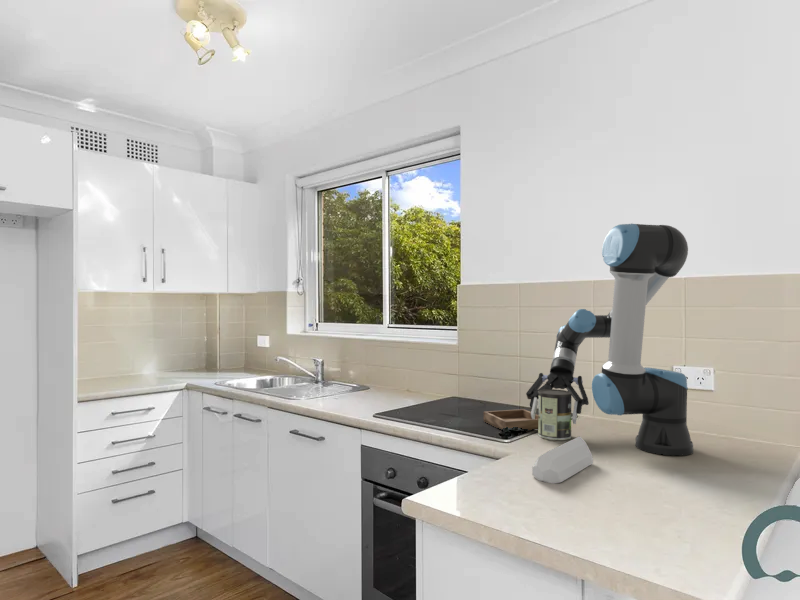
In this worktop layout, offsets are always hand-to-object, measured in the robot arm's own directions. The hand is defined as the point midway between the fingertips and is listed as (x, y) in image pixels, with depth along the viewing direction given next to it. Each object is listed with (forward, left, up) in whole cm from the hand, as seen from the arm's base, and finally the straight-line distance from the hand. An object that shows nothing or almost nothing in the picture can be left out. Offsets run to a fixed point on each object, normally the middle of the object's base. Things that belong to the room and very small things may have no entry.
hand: (552, 419), depth 169 cm
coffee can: (+2, -2, -6) cm, 7 cm away
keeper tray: (+18, +3, -6) cm, 19 cm away
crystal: (-28, +15, -6) cm, 33 cm away
